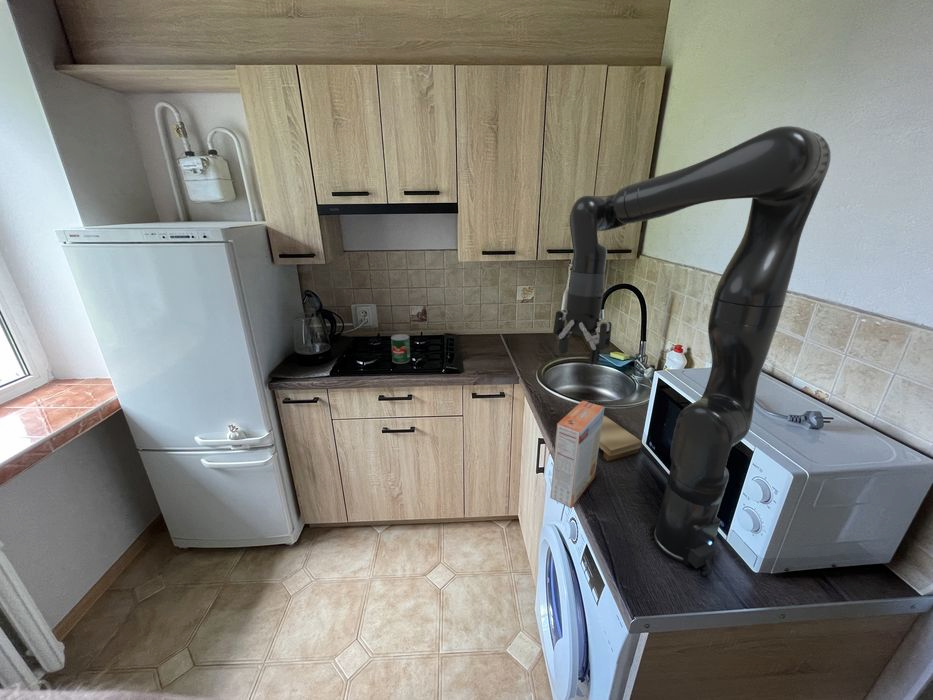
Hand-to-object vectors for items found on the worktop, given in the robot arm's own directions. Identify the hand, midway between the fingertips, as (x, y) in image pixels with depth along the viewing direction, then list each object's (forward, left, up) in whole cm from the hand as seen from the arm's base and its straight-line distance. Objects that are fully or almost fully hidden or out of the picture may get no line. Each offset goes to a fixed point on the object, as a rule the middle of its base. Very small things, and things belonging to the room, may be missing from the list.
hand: (577, 358), depth 91 cm
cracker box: (-8, +4, -31) cm, 32 cm away
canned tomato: (+88, +24, -31) cm, 96 cm away
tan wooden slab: (+5, -17, -31) cm, 36 cm away
